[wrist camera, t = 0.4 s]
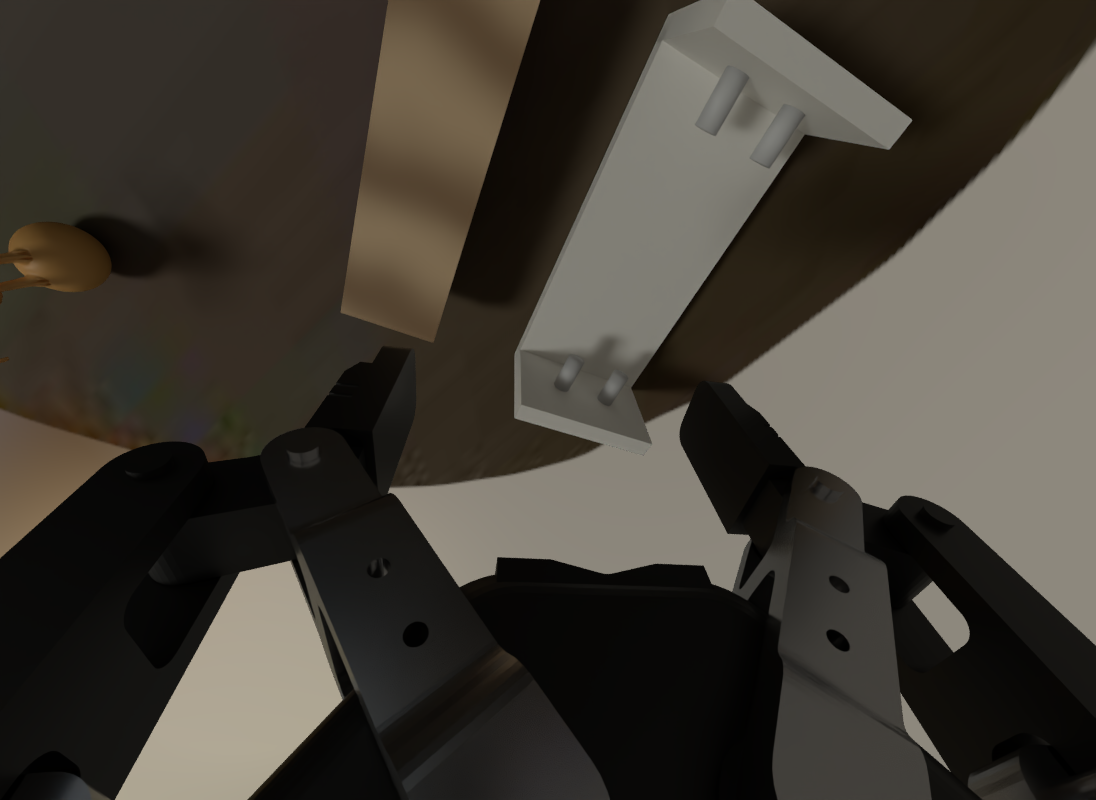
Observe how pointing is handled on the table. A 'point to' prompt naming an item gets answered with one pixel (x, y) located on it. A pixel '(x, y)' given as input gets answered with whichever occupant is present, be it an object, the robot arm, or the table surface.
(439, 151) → the shelf board
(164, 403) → the table surface
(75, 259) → the figurine
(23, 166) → the table surface
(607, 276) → the shelf frame
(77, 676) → the robot arm
